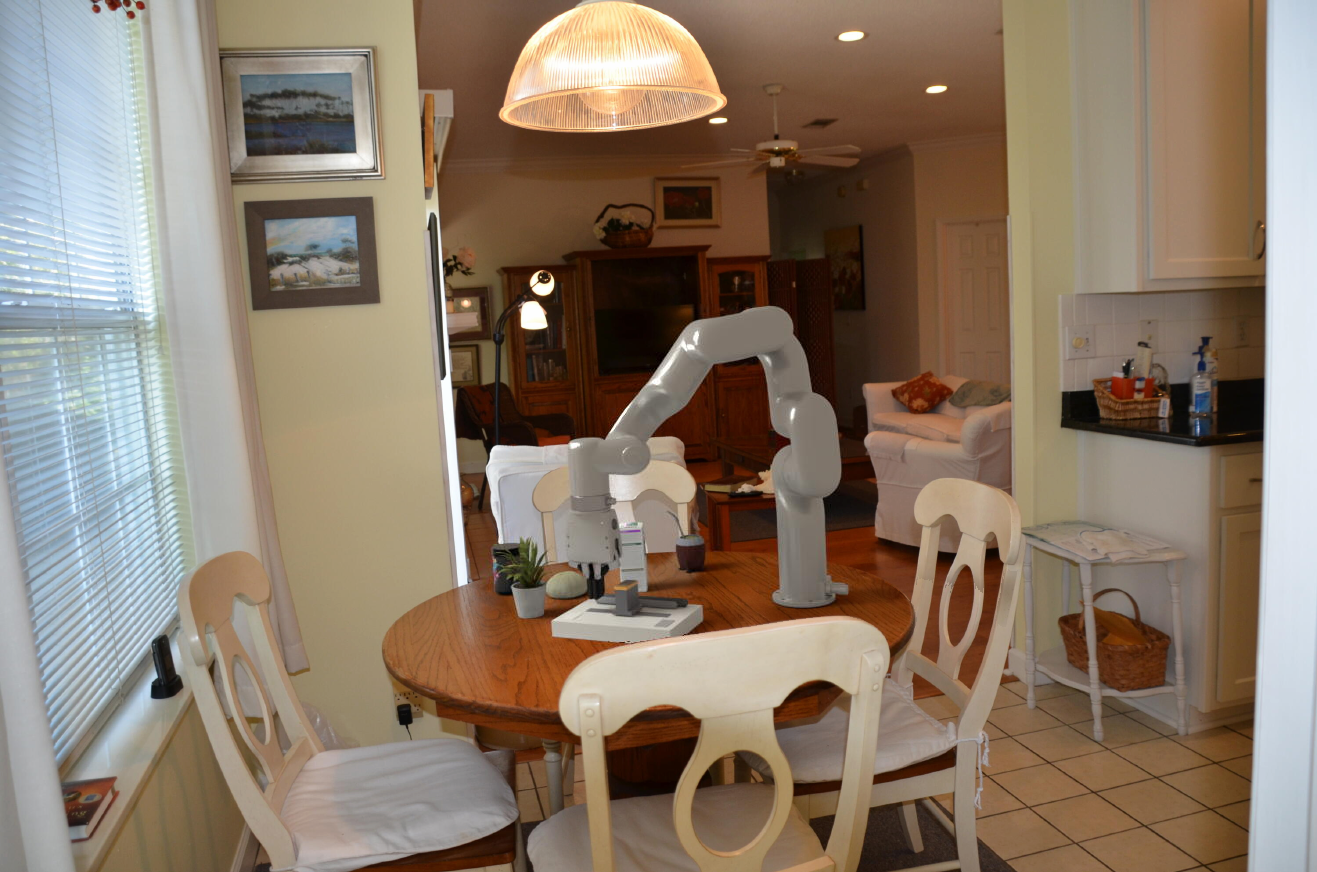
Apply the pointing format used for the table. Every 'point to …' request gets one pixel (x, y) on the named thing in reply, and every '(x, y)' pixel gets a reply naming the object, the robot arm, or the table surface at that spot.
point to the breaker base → (628, 620)
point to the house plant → (528, 580)
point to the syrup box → (634, 554)
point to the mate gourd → (690, 550)
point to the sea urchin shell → (566, 585)
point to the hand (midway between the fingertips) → (596, 597)
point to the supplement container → (500, 578)
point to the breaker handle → (627, 598)
